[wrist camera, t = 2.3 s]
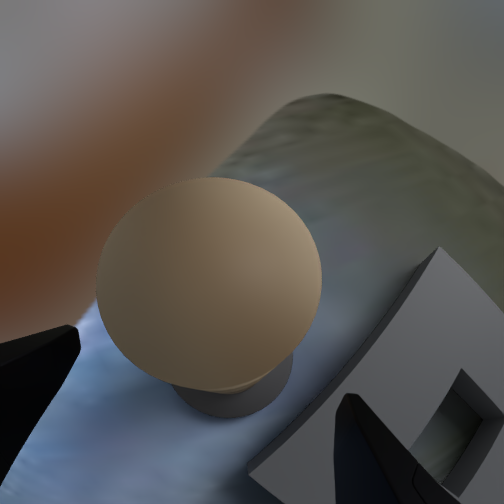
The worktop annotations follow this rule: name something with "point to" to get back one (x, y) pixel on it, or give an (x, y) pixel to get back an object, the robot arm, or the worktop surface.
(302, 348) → the worktop surface
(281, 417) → the worktop surface
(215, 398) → the pad
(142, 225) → the beech peg
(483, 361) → the hole plate
